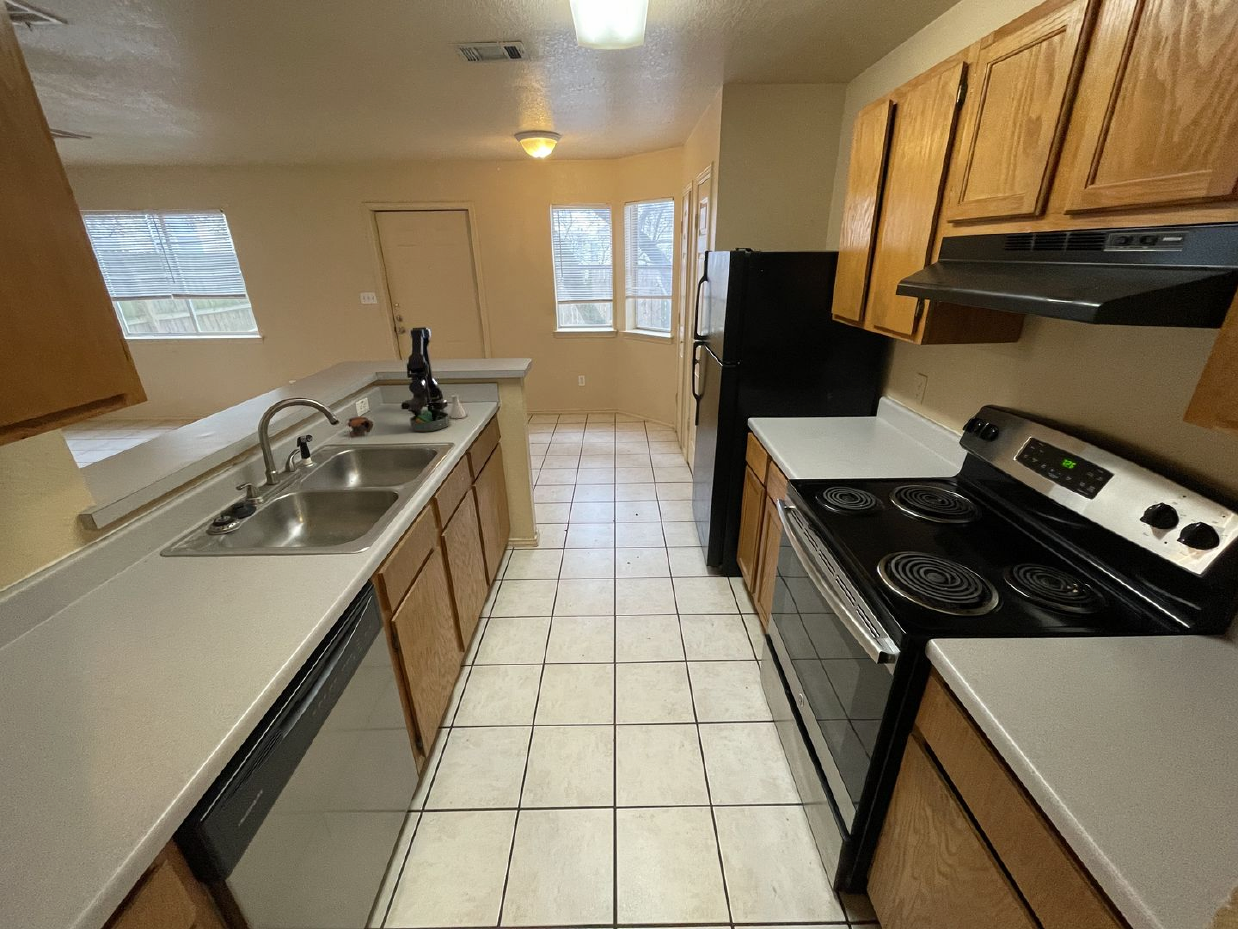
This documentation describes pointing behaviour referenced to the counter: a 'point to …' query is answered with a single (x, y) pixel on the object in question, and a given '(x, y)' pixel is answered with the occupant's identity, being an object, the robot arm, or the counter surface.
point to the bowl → (431, 423)
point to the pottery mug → (360, 426)
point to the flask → (457, 408)
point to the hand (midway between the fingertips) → (427, 423)
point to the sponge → (425, 417)
